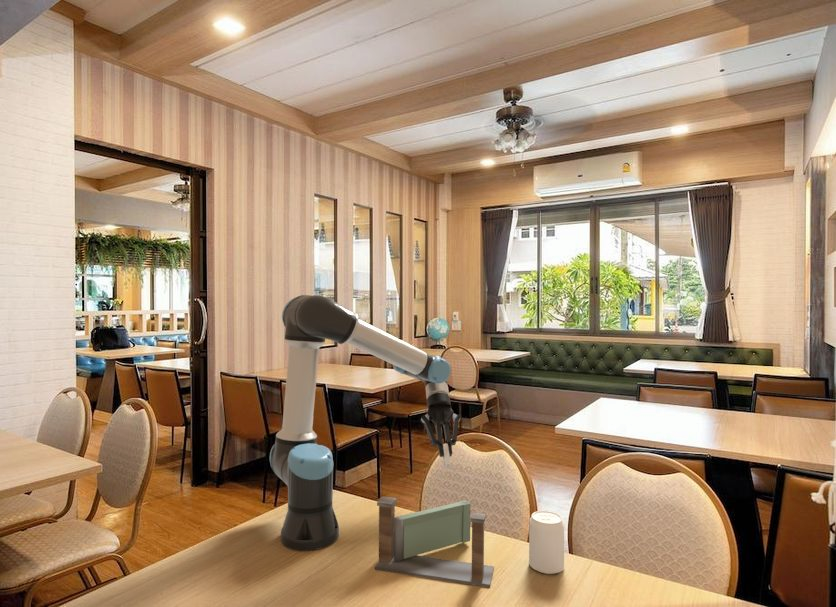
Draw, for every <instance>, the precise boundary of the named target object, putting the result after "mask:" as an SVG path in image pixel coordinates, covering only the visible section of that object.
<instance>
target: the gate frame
mask: <svg viewBox="0 0 836 607" xmlns="http://www.w3.org/2000/svg"><path fill="white" fill-rule="evenodd" d="M397 502H398V498H397V497H390V496H381V497H380V499H378V501H377V502H376V506H378V562H377V563H376V565H375V566H374V570H375V571H379V572H381V571H382V572H387V573H388V572H389V573H394V574H400V575H407V576H413V577H420V578H426V579H431V580H432V579H433V580H440V581H447V582H452V583H459V584H464V585H471V586H472V585H473V586H477V587H478V586H479V587H486V588H491V585H492V580H493V575H494V569H495V566H493V565H488V564H485V558H484V557H485V521H486V519H487V518H486V513H480V512H479V513H478V512H472V514H471V515H470V523H471V562H468V561H460V560H453V559H452V560H451V559H446V558H439V557H431V556H425V555H416V556H412V557H409V558H405V559H403V560H402V561H396V560H394V523H395V517H396V516H395V512H396V508H395V506H396V503H397Z"/></svg>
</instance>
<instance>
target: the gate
mask: <svg viewBox="0 0 836 607" xmlns="http://www.w3.org/2000/svg"><path fill="white" fill-rule="evenodd" d="M470 541H471V503H470V502H469V501H468V500H466V499H465V500H460V501H457V502H454V503H449V504H445V505H441V506H436V507H432V508H428V509H423V510H420V511H415V512H410V513H407V514H403V515H397V516H395V523H394V560H396V561H402V560H403V559H405V558H409V557H412V556H416V555H418V556H420V555H423V554H426V553H429V552H433V551H436V550H440V549H443V548H447V547H450V546H454V545H458V544H460V543H462V544H463V543H468V542H470Z"/></svg>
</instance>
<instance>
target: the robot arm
mask: <svg viewBox="0 0 836 607" xmlns="http://www.w3.org/2000/svg"><path fill="white" fill-rule="evenodd" d="M281 319H282V322H283V326H284V329H285V330H284V342H285V343H286V344H287V345H288V355H287V356H288V357H287V369H286V379H285V392H284V403H283V414H282V424H281V425H282V426H281V427H282V428H281V429H279V431H278V432H277V433H276V434H275V441H274V442H275V443H274V444H273V445H272V447H271V449H270V452H269V463H270V467H271V469H272V471H273V472H274V474H275V476H277V477H278V479H280V480H281V481H282V482H283V483H284V484H285V485H286V486H287V511H286V514H285V519H284V520H283V524H282V527H281V530H280V542H281V544H282V545H283V546H284V547H285V548H287V549H291V550H294V551H301V552H302V551H303V552H305V551H306V552H307V551H314V550H320V549H324V548H326V547H329V546H330V545H332V544H334V543H335V542H336V541H337V540H338V538H339V535H340V533H339V532H340V525H339V523H338V519H337V515H336V513H335V511H334V506H333V497H334V496H333V495H334V494H333V493H334V492H333V488H334V487H333V486H334V484H333V482H334V481H333V480H334V460H333V453H332V451H331V449H330V448H328V447H327V446H325V445H323V444H318V443H317V441H318V434H317V433H316V432H315V431H314V430H313V426H314V425H313V424H314V410H315V402H316V400H315V399H316V390H317V389H316V386H317V378H318V376H317V375H318V365H319V354H320V348H321V347H322V346H323V345H324V344H326V340H329V341H333V342H335V343H337V344H339V345H344V344H348V345H349V346H352V347H354V348H356V349H359V350H361V351H362V352H365V353H367V354H369V355H372V356H374V357H376V358H378V359H380V360H382V361H384V362H387V363H389V364H391V365H392V368H393V370H394V371H396V372H398V373H400V375H405V376H408V377H410V378H414V379H416V380H418V381H422V382H423V383H424V387H425V388H424V389H425V396H426V406H427V412H426V414H425V415H424V414H423V415H421V418H420V422H421V423H422V425H424V429H425V431H426V433H427V436H428V439H429V441H430V443H431V444H430V445H432V447H437V449H438V455H439V457H440V458H442V460H443V467H444V469H450V468H451V457H452V456H453V448H452V446H456V444H457V441H458V440H457V439H458V432H459V423H460V422H461V418H462V414H459V413H458V414H456V413H454V412H455V411H454V410H453V409H452V405H451V398H450V392H449V386H448V379H449V378H450V376H451V372H452V369H451V365H450V363H449V362H448V361H447V360H446V359H444V358H442V357H441V356H439V355H432V354H430V353H428V352H426V351H423V350H422V349H420V348H418V347H416V346H414V345H412V344H410V343H408V342H406V341H405V340H402V339H400V338H398V337H396V336H394V335H392V334H390V333H388V332H386V331H384V330H381V329H380V328H378V327H376V326H374V325H372V324H369V323H368V322H366V321H364V320H362V319H360V318H359V316H358V314H357V313H356V312H354V311H352V310H350V309H349V308H347V307H345V306H343V305H342V304H340V303H338V302H336V301H335V300H333V299H331V298H328V297H327V296H324V295H318V294H315V295H311V294H310V295H309V294H301V295H298V296H296V297H293V298H291V299H289V301H288V302H287V303H286V304H285V305H284V307H283V310H282V313H281ZM451 419H452V421H453V422H454V423H453V426H452V437H451V432H450V425H449V423H450V421H451ZM430 421H431V422H432V423H433V424H434V427H435V433H434V430H433V427H432V424H431V422H430ZM441 425H442V427H443V432H444V442H445V443H443V434H442V427H441ZM435 434H436V435H435Z"/></svg>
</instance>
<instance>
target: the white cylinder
mask: <svg viewBox="0 0 836 607" xmlns="http://www.w3.org/2000/svg"><path fill="white" fill-rule="evenodd" d="M528 528H529V529H528V530H529V531H528V532H529V536H528V538H529V539H528V541H529V542H528V543H529V544H528V547H529V548H528V563H529V566H530V567H531V568H532V569H533V570H535V571H536V572H539V573H541V574H546V575H554V574H559V573H561V572H563V570H564V568H565V522H564V520H563V517H562V516H561V515H560V514H559V513H557V512H553V511H549V510H537V511H534V512H533V513H532V514H531V516H530V518H529V526H528Z"/></svg>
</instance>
